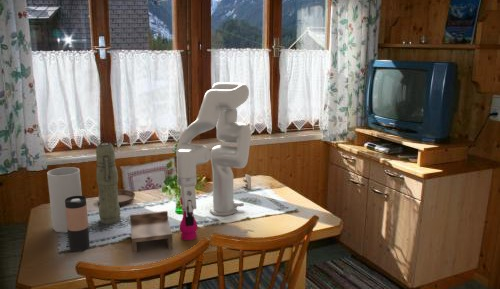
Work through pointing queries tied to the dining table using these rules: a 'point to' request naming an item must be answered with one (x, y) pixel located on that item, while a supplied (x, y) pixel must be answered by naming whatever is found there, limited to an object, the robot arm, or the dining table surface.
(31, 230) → the dining table surface
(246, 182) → the architectural model
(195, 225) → the pepper mill
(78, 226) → the travel mug
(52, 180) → the cylinder vase
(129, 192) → the plant saucer
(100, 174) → the stone totem statue
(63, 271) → the dining table surface
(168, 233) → the walnut shelf
